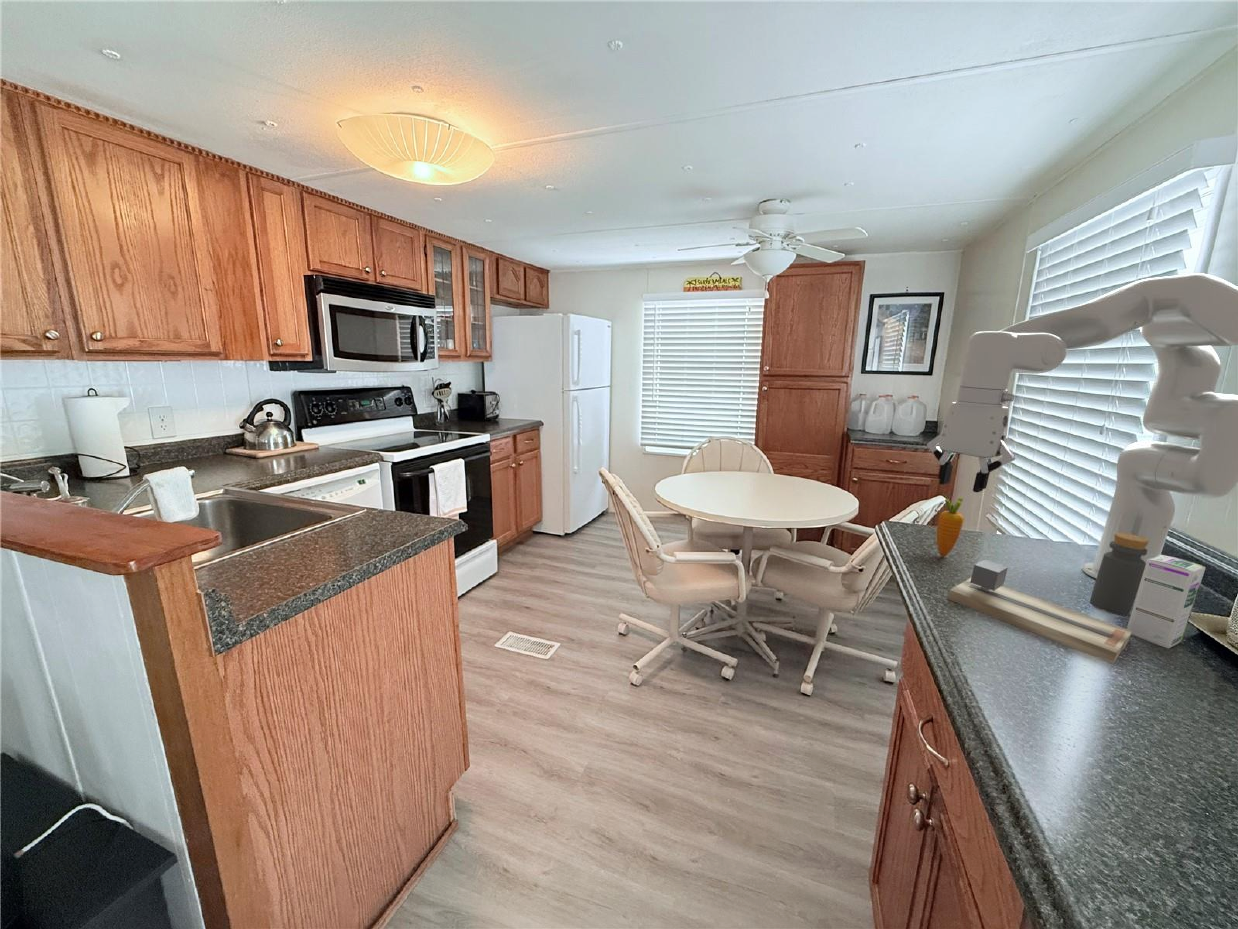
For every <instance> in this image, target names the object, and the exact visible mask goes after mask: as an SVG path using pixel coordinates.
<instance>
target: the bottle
mask: <svg viewBox="0 0 1238 929" xmlns="http://www.w3.org/2000/svg"><path fill="white" fill-rule="evenodd" d="M1148 543H1149V541H1148V540H1147V539H1145V538H1142V537H1139V536H1136V535H1131V534H1126V533H1115V534H1114V541H1111V542H1110V545H1109V546H1110V548H1112V552H1107V553H1105V554H1104V556H1103V559H1102V562H1101V565H1100V569H1099V572H1098V575H1097V578H1096V579H1095V582H1094V584H1093V589H1092V593H1091V596H1090V599H1089V603H1090V604H1091V605H1092V606H1094V607H1095V608H1096V609H1099V610H1102V611H1104V612H1108V613H1111V614H1115V615H1119V616H1120V615H1121V616H1128V615H1129V616H1130V615H1131V612H1132V609H1133V605H1134V602H1135V599H1136V595H1137V592H1138V588H1139V585H1140V582H1141V579H1142V576H1143V572H1144V569H1145V566H1146V563H1145V562H1144V561H1143V560H1142V559H1141V556H1144V555H1146V554H1147V549H1145V547H1146V546H1147V544H1148Z"/></svg>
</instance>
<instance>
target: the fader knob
mask: <svg viewBox="0 0 1238 929" xmlns="http://www.w3.org/2000/svg"><path fill="white" fill-rule="evenodd" d="M1008 569H1009V566H1006V565H1003V564H1000V563H996V562H993V561H991V560H988V559H982V560H980V561H978V562H977V563H975V564H974V565H973V569H972V573H971V577H970V578H971V581H970V582H971V583H973V584H976V585H979V586H981V589H983V590H986V591H989V590H993V591H995V590H996V589H998V588H999V587H1001V586H1004V585H1005V580H1006V576H1007V572H1008Z"/></svg>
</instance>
